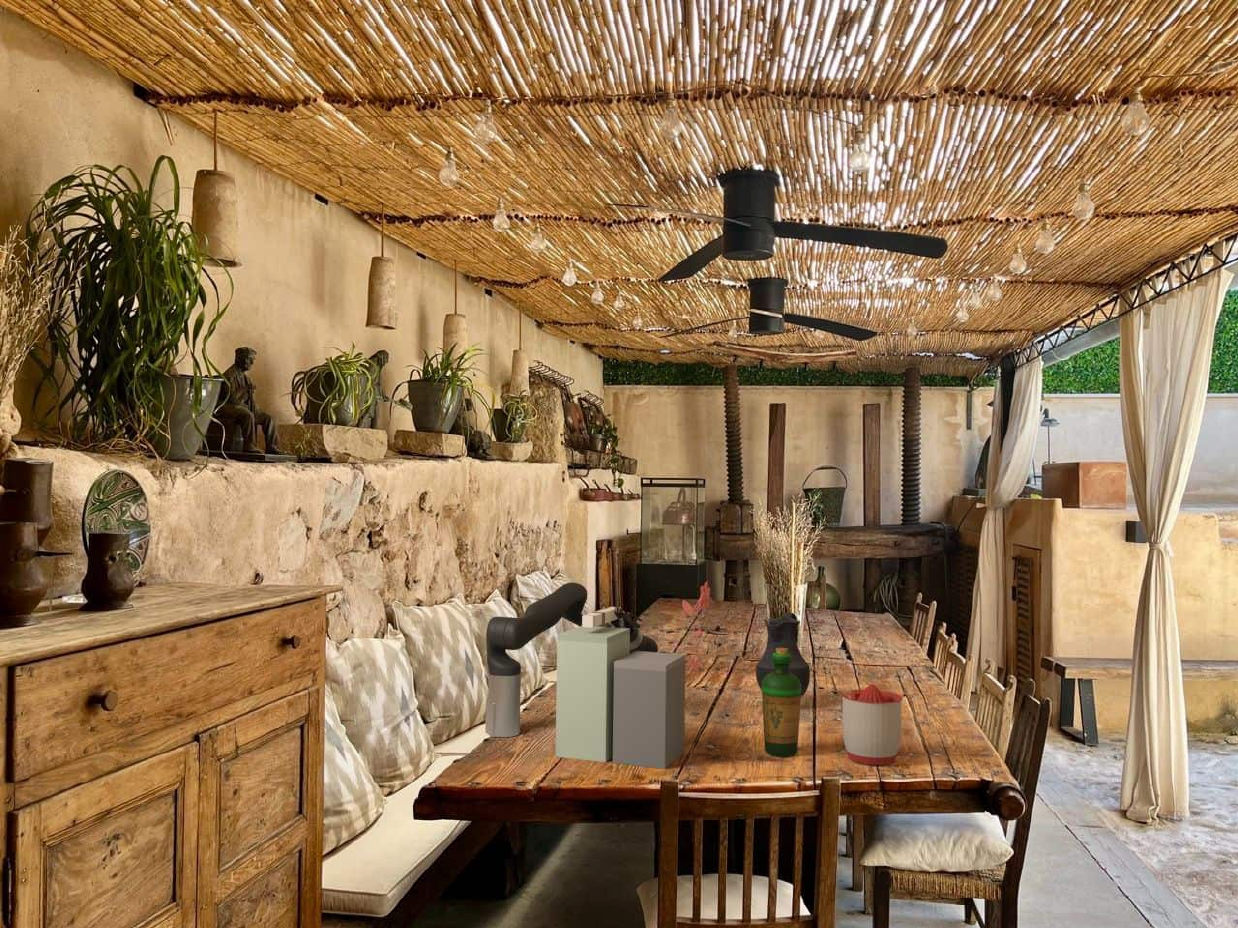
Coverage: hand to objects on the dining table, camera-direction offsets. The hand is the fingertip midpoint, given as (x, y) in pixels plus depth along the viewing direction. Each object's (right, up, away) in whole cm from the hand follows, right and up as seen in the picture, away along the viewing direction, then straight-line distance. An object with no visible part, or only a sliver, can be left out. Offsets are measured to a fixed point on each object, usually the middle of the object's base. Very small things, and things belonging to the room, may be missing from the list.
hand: (610, 609), depth 274 cm
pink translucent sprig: (+36, -40, +101) cm, 114 cm away
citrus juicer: (+68, -37, -17) cm, 80 cm away
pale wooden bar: (-2, -3, -6) cm, 7 cm away
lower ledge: (+11, -36, -18) cm, 42 cm away
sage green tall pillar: (-4, -36, -12) cm, 39 cm away
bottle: (+46, -37, -12) cm, 60 cm away
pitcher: (+57, -39, +45) cm, 82 cm away
